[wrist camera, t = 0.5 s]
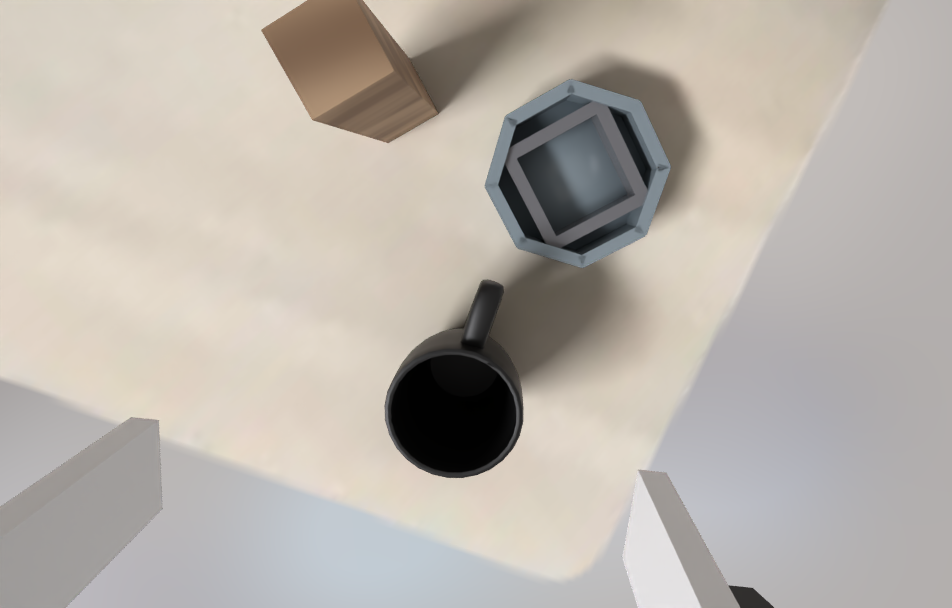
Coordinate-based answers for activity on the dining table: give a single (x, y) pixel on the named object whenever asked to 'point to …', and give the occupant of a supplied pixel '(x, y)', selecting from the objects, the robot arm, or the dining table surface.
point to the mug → (457, 397)
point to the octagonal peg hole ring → (577, 173)
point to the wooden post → (349, 69)
